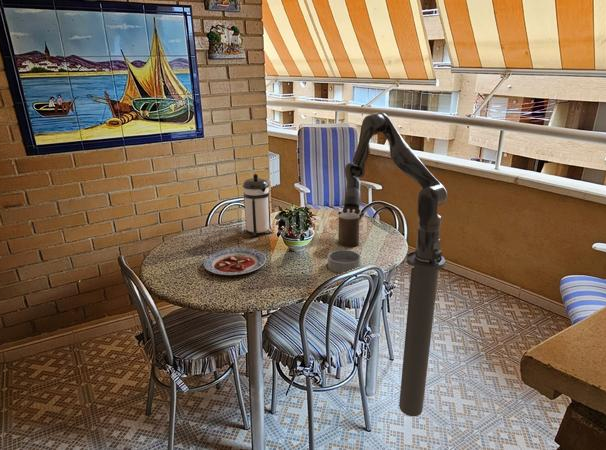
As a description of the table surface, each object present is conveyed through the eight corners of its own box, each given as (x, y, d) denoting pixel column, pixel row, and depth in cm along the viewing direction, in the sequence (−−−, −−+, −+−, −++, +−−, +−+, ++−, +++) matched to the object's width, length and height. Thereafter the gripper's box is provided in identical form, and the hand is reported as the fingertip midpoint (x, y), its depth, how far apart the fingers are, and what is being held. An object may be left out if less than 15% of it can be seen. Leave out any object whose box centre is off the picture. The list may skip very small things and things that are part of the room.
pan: (366, 266, 168) (367, 256, 167) (345, 276, 160) (345, 266, 159) (342, 256, 178) (343, 247, 176) (321, 266, 169) (321, 256, 168)
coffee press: (277, 227, 213) (275, 170, 203) (267, 238, 199) (265, 178, 188) (246, 225, 217) (242, 169, 207) (234, 235, 202) (230, 176, 192)
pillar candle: (354, 248, 186) (355, 217, 181) (334, 244, 190) (335, 214, 185) (361, 241, 194) (363, 211, 189) (343, 238, 198) (343, 208, 193)
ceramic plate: (248, 283, 155) (248, 276, 154) (191, 273, 164) (190, 267, 163) (276, 257, 178) (276, 251, 177) (224, 249, 186) (224, 243, 185)
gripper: (338, 194, 200) (335, 226, 193) (365, 195, 198) (363, 228, 191) (339, 201, 207) (336, 233, 200) (365, 203, 205) (363, 234, 198)
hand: (349, 230), depth 196 cm, fingers closed
